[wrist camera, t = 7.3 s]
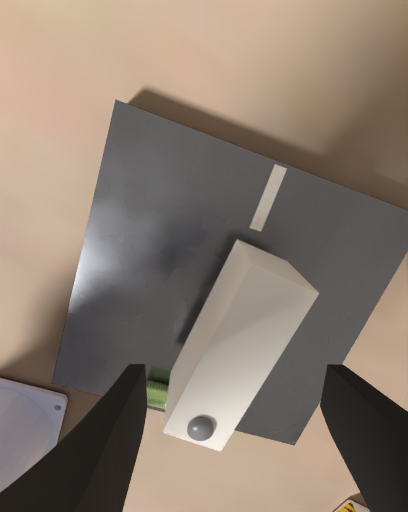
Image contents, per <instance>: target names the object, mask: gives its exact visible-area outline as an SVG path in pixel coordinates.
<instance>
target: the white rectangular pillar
mask: <svg viewBox="0 0 408 512" xmlns="http://www.w3.org/2000/svg"><path fill="white" fill-rule="evenodd" d="M318 295H319V292H318V291H317V290H316V289H315V288H314V287H313V286H312V285H311V284H310V283H309V282H308V281H307V280H306V279H305V278H304V277H303V276H302V275H301V274H300V273H299V272H298V271H297V270H296V269H295V268H294V267H293V266H292V265H291V264H290V263H289V262H288V261H285V260H283V259H281V258H279V257H276V256H274V255H272V254H270V253H267V252H265V251H263V250H261V249H258V248H256V247H254V246H252V245H249V244H247V243H245V242H243V241H240V240H238V239H237V240H236V242H235V244H234V246H233V248H232V250H231V252H230V254H229V256H228V258H227V260H226V262H225V264H224V266H223V268H222V270H221V272H220V274H219V276H218V278H217V280H216V282H215V284H214V286H213V288H212V290H211V292H210V294H209V296H208V298H207V300H206V302H205V304H204V306H203V308H202V310H201V312H200V314H199V316H198V318H197V320H196V322H195V324H194V326H193V328H192V330H191V332H190V334H189V336H188V338H187V340H186V342H185V344H184V346H183V348H182V350H181V352H180V354H179V356H178V358H177V360H176V362H175V364H174V366H173V368H172V370H171V373H170V380H169V387H168V394H167V401H166V408H165V415H164V422H163V429H162V433H165V434H168V435H171V436H174V437H177V438H180V439H184V440H187V441H190V442H193V443H196V444H199V445H202V446H205V447H208V448H211V449H214V450H217V451H220V452H221V450H222V449H223V447H224V445H225V444H226V442H227V441H228V439H229V437H230V436H231V434H232V433H233V431H234V429H235V428H236V426H237V425H238V423H239V421H240V420H241V418H242V417H243V415H244V413H245V412H246V410H247V408H248V407H249V405H250V404H251V402H252V400H253V399H254V397H255V396H256V394H257V392H258V391H259V389H260V388H261V386H262V384H263V383H264V381H265V380H266V378H267V376H268V375H269V373H270V372H271V370H272V368H273V367H274V365H275V364H276V362H277V360H278V359H279V357H280V356H281V354H282V352H283V351H284V349H285V348H286V346H287V344H288V343H289V341H290V340H291V338H292V336H293V335H294V333H295V332H296V330H297V328H298V327H299V325H300V324H301V322H302V320H303V319H304V317H305V316H306V314H307V312H308V311H309V309H310V308H311V306H312V304H313V303H314V301H315V299H316V298H317V296H318Z"/></svg>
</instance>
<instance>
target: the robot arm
mask: <svg viewBox="0 0 408 512" xmlns="http://www.w3.org/2000/svg"><path fill="white" fill-rule="evenodd" d="M67 402H68V398H67V396H66V395H65V394H62V393H58V392H54V391H50V390H46V389H42V388H38V387H34V386H30V385H26V384H22V383H18V382H14V381H10V380H6V379H2V378H0V512H122V511H123V506H124V502H125V499H126V495H127V491H128V488H129V484H130V480H131V477H132V473H133V469H134V465H135V462H136V458H137V454H138V451H139V447H140V443H141V439H142V435H143V430H144V424H145V418H146V412H147V388H146V368H145V364H129V365H128V366H127V367H126V368H125V370H124V371H123V372H122V373H121V375H120V376H119V377H118V379H117V380H116V381H115V382H114V384H113V385H112V386H111V387H110V389H109V390H108V391H107V392H106V393H105V394H104V396H103V397H102V398H101V399H100V400H99V401H98V403H97V404H96V405H95V406H94V407H93V408H92V409H91V411H90V412H89V413H88V414H87V415H86V416H85V417H84V418H83V419H82V420H81V421H80V422H79V423H78V424H77V425H76V426H75V427H74V428H73V429H72V430H71V431H70V432H69V433H68V434H67V435H66V436H65V437H64V438H63V439H62V440H61V441H60V442H59V443H58V444H57V442H58V438H59V434H60V430H61V426H62V422H63V418H64V414H65V410H66V406H67ZM58 405H59V406H58ZM320 407H321V410H322V413H323V416H324V418H325V421H326V424H327V426H328V429H329V431H330V434H331V436H332V438H333V440H334V442H335V444H336V446H337V448H338V450H339V452H340V453H341V455H342V457H343V459H344V461H345V463H346V465H347V467H348V469H349V471H350V473H351V475H352V477H353V479H354V481H355V482H356V484H357V486H358V488H359V490H360V492H361V494H362V496H363V498H364V500H365V502H366V504H367V506H368V508H369V510H370V512H408V411H406V410H405V409H403V408H402V407H400V406H399V405H398V404H396V403H395V402H393V401H392V400H391V399H389V398H388V397H387V396H385V395H384V394H382V393H381V392H380V391H378V390H377V389H376V388H374V387H373V386H372V385H370V384H369V383H368V382H366V381H365V380H364V379H362V378H361V377H360V376H358V375H357V374H355V373H354V372H353V371H351V370H350V369H348V368H347V367H346V366H344V365H343V364H327V369H326V375H325V380H324V386H323V391H322V397H321V403H320Z"/></svg>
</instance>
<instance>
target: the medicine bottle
mask: <svg viewBox="0 0 408 512" xmlns="http://www.w3.org/2000/svg"><path fill="white" fill-rule="evenodd" d="M334 512H370V510H369V509H368V508H366V507H364V506H362V505H360V504H358V503H356V502H354V501H352V500H347V501H346V502H345V503H343V504H342V505H341V506H340V507H339V508H338V509H337V510H335V511H334Z"/></svg>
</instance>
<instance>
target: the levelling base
mask: <svg viewBox="0 0 408 512" xmlns="http://www.w3.org/2000/svg"><path fill="white" fill-rule="evenodd" d="M237 239H238V240H240V241H243V242H245V243H247V244H249V245H252V246H254V247H256V248H258V249H261V250H263V251H265V252H267V253H270V254H272V255H274V256H276V257H279V258H281V259H283V260H285V261H288V262H289V263H290V264H291V265H292V266H293V267H294V268H295V269H296V270H297V271H298V272H299V273H300V274H301V275H302V276H303V277H304V278H305V279H306V280H307V281H308V282H309V283H310V284H311V285H312V286H313V287H314V288H315V289H316V290H317V291H318V292H319V295H318V296H317V298H316V299H315V301H314V303H313V304H312V306H311V308H310V309H309V311H308V312H307V314H306V316H305V317H304V319H303V320H302V322H301V324H300V325H299V327H298V328H297V330H296V332H295V333H294V335H293V336H292V338H291V340H290V341H289V343H288V344H287V346H286V348H285V349H284V351H283V352H282V354H281V356H280V357H279V359H278V360H277V362H276V364H275V365H274V367H273V368H272V370H271V372H270V373H269V375H268V376H267V378H266V380H265V381H264V383H263V384H262V386H261V388H260V389H259V391H258V392H257V394H256V396H255V397H254V399H253V400H252V402H251V404H250V405H249V407H248V408H247V410H246V412H245V413H244V415H243V417H242V418H241V420H240V421H239V423H238V425H237V426H236V428H235V429H234V430H236V431H240V432H244V433H248V434H252V435H256V436H260V437H264V438H267V439H271V440H275V441H279V442H283V443H287V444H291V445H295V444H296V442H297V440H298V439H299V437H300V435H301V433H302V432H303V430H304V428H305V426H306V425H307V423H308V421H309V420H310V418H311V416H312V414H313V413H314V411H315V409H316V408H317V406H318V404H319V402H320V401H321V397H322V391H323V386H324V380H325V375H326V369H327V364H342V363H343V361H344V359H345V358H346V356H347V354H348V353H349V351H350V349H351V347H352V346H353V344H354V342H355V341H356V339H357V337H358V335H359V334H360V332H361V330H362V329H363V327H364V325H365V323H366V322H367V320H368V318H369V317H370V315H371V313H372V311H373V310H374V308H375V306H376V305H377V303H378V301H379V299H380V298H381V296H382V294H383V292H384V291H385V289H386V287H387V286H388V284H389V282H390V280H391V279H392V277H393V275H394V274H395V272H396V270H397V268H398V267H399V265H400V263H401V262H402V260H403V258H404V256H405V255H406V253H407V251H408V210H405V209H403V208H400V207H397V206H395V205H392V204H390V203H387V202H384V201H382V200H379V199H376V198H374V197H371V196H369V195H366V194H363V193H361V192H358V191H355V190H353V189H350V188H347V187H345V186H342V185H340V184H337V183H334V182H332V181H329V180H326V179H324V178H321V177H318V176H316V175H313V174H311V173H308V172H305V171H303V170H300V169H297V168H295V167H292V166H289V165H287V164H284V163H282V162H279V161H276V160H274V159H271V158H268V157H266V156H263V155H261V154H258V153H255V152H253V151H250V150H247V149H245V148H242V147H239V146H237V145H234V144H232V143H229V142H226V141H224V140H221V139H218V138H216V137H213V136H210V135H208V134H205V133H203V132H200V131H197V130H195V129H192V128H189V127H187V126H184V125H181V124H179V123H176V122H174V121H171V120H168V119H166V118H163V117H160V116H158V115H155V114H152V113H150V112H147V111H145V110H142V109H139V108H137V107H134V106H131V105H129V104H126V103H124V102H121V101H118V100H115V105H114V109H113V113H112V118H111V122H110V127H109V131H108V136H107V140H106V144H105V149H104V153H103V158H102V162H101V167H100V171H99V175H98V180H97V184H96V189H95V193H94V198H93V202H92V206H91V211H90V215H89V220H88V224H87V229H86V233H85V237H84V242H83V246H82V251H81V255H80V260H79V264H78V268H77V273H76V277H75V282H74V286H73V291H72V295H71V299H70V304H69V308H68V313H67V317H66V322H65V326H64V331H63V335H62V339H61V344H60V348H59V353H58V357H57V362H56V366H55V370H54V375H53V379H52V384H56V385H60V386H64V387H68V388H72V389H75V390H79V391H83V392H87V393H91V394H95V395H99V396H104V394H105V393H106V392H107V391H108V390H109V389H110V387H111V386H112V385H113V384H114V382H115V381H116V380H117V379H118V377H119V376H120V375H121V373H122V372H123V371H124V370H125V368H126V367H127V366H128V365H129V364H145V368H146V388H147V408H150V409H154V410H158V411H162V412H165V408H166V401H167V394H168V387H169V380H170V373H171V370H172V368H173V366H174V364H175V362H176V360H177V358H178V356H179V354H180V352H181V350H182V348H183V346H184V344H185V342H186V340H187V338H188V336H189V334H190V332H191V330H192V328H193V326H194V324H195V322H196V320H197V318H198V316H199V314H200V312H201V310H202V308H203V306H204V304H205V302H206V300H207V298H208V296H209V294H210V292H211V290H212V288H213V286H214V284H215V282H216V280H217V278H218V276H219V274H220V272H221V270H222V268H223V266H224V264H225V262H226V260H227V258H228V256H229V254H230V252H231V250H232V248H233V246H234V244H235V242H236V240H237Z"/></svg>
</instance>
